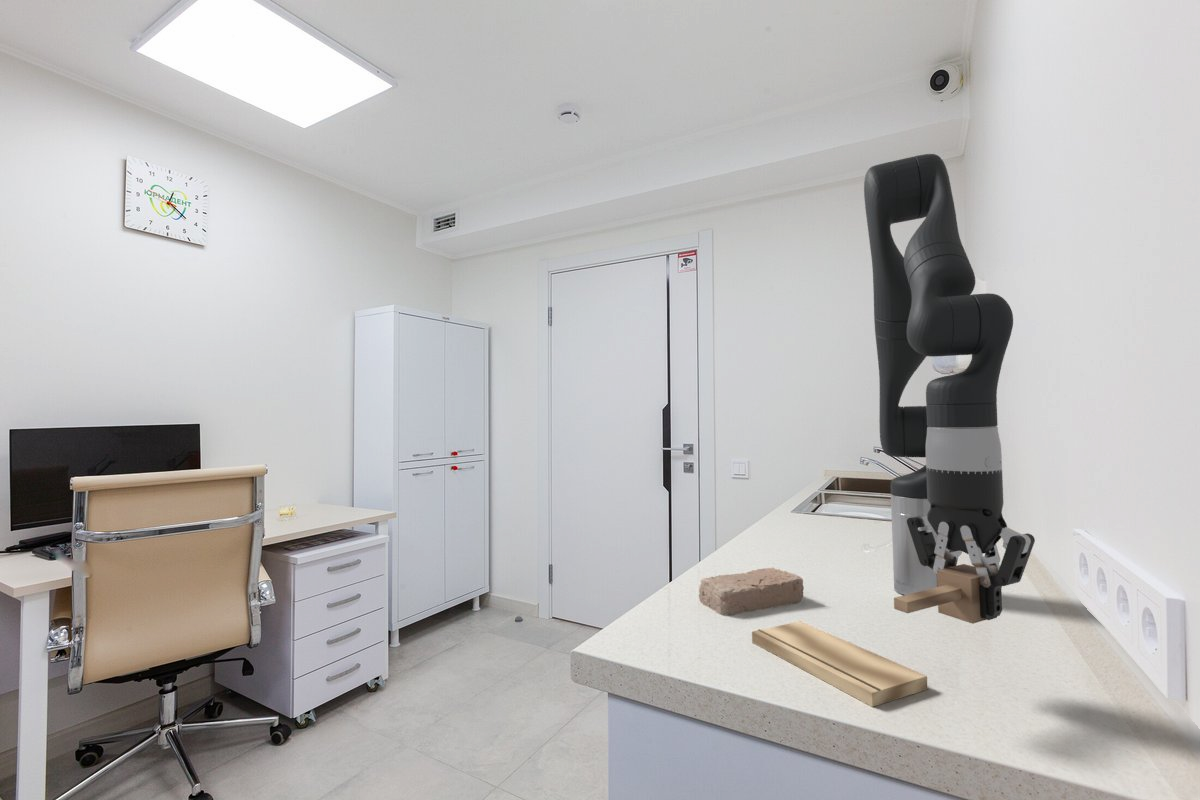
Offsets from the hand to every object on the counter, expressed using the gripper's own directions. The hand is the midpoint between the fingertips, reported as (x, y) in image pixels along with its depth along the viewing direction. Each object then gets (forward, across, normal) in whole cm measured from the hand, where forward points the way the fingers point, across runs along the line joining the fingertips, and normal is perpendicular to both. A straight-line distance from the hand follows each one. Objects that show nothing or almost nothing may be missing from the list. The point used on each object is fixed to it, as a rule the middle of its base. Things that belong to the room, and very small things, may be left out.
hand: (968, 611), depth 66 cm
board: (+9, +12, +10) cm, 18 cm away
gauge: (0, 0, +4) cm, 4 cm away
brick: (+10, +36, +3) cm, 37 cm away
